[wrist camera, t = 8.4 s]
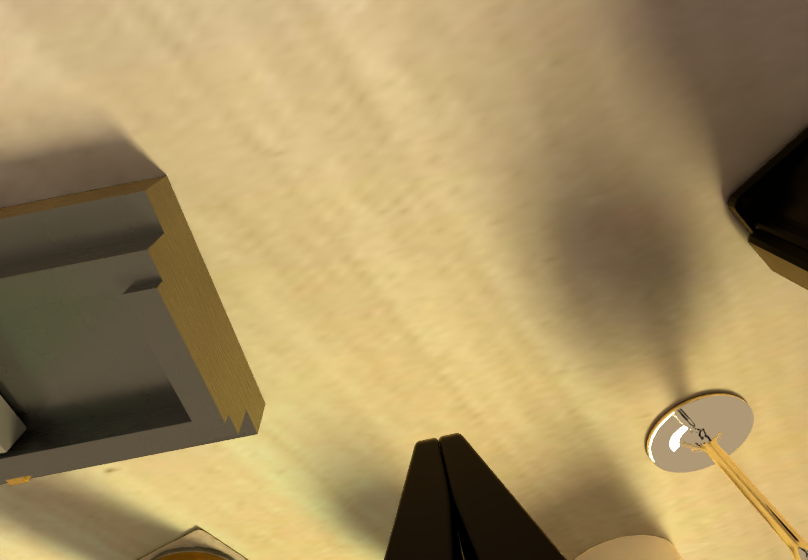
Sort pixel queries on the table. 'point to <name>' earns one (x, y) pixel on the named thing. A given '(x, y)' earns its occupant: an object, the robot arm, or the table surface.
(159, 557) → the condiment
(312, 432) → the table surface
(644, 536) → the base with upright slab
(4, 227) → the rail
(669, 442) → the wineglass
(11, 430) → the fader tab
